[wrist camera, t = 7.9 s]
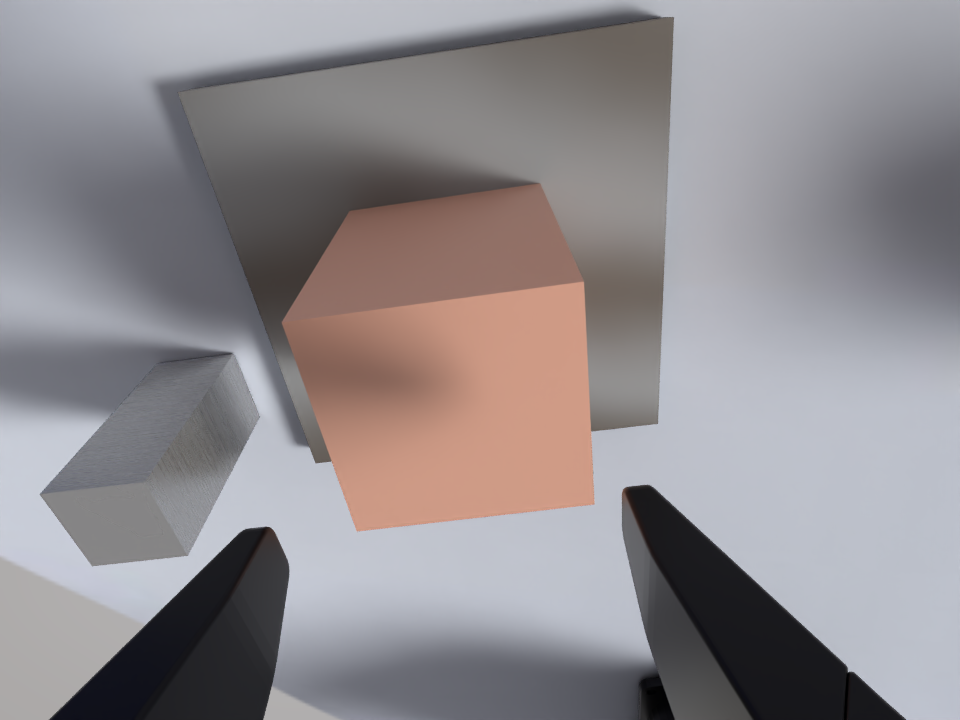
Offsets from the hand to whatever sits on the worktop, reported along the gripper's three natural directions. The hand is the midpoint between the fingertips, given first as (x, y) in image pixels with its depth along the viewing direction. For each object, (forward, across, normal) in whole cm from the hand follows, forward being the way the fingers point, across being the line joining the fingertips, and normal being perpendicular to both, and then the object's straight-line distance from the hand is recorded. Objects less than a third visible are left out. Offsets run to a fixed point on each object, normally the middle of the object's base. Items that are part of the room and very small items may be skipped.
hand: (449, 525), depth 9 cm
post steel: (+10, +9, +3) cm, 14 cm away
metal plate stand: (+10, 0, 0) cm, 10 cm away
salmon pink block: (+9, 0, 0) cm, 9 cm away
